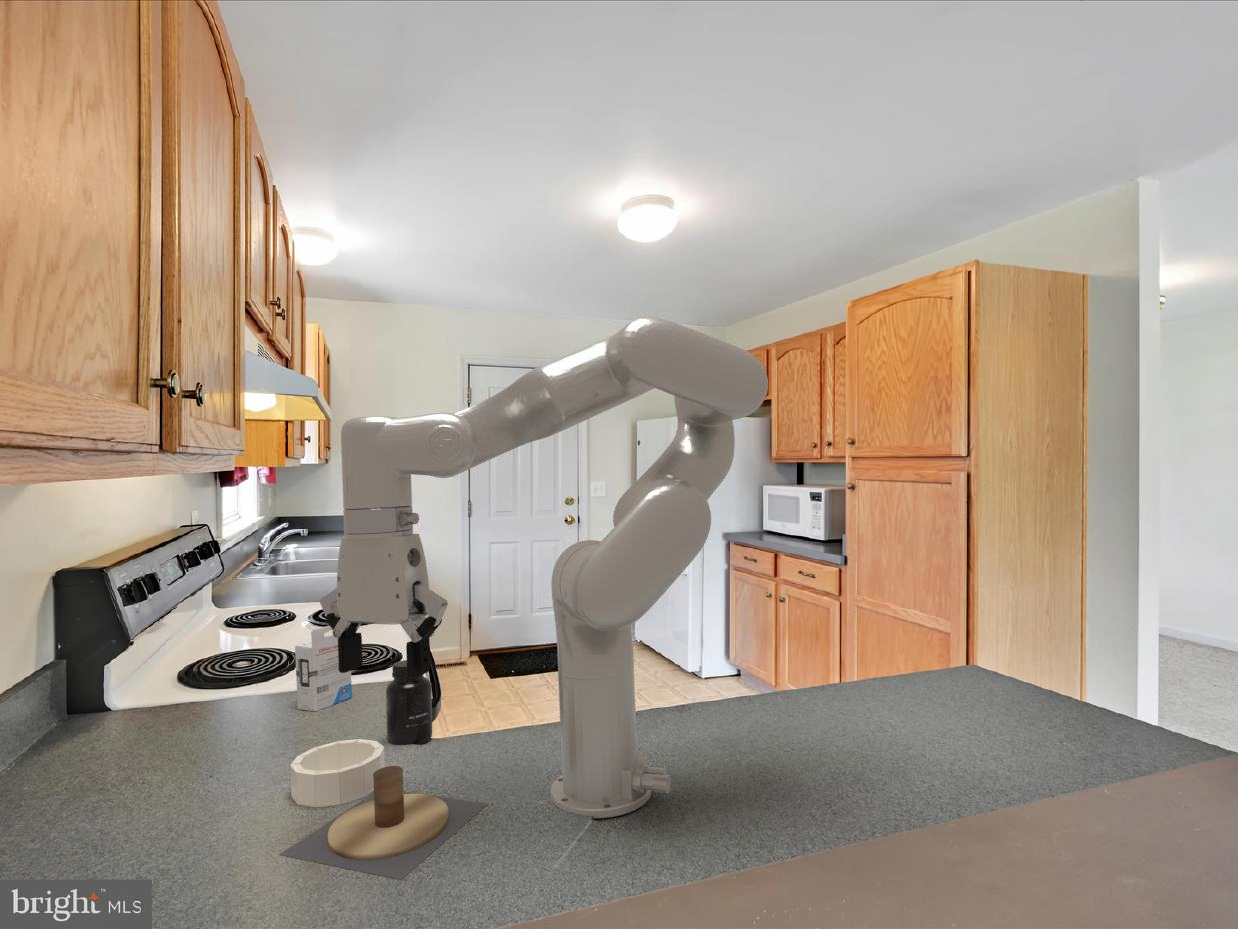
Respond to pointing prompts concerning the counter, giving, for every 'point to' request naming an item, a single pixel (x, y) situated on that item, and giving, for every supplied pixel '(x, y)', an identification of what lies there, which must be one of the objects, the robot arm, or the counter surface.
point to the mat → (391, 867)
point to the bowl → (335, 772)
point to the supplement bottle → (408, 707)
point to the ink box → (320, 673)
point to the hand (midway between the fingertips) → (384, 672)
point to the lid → (388, 821)
